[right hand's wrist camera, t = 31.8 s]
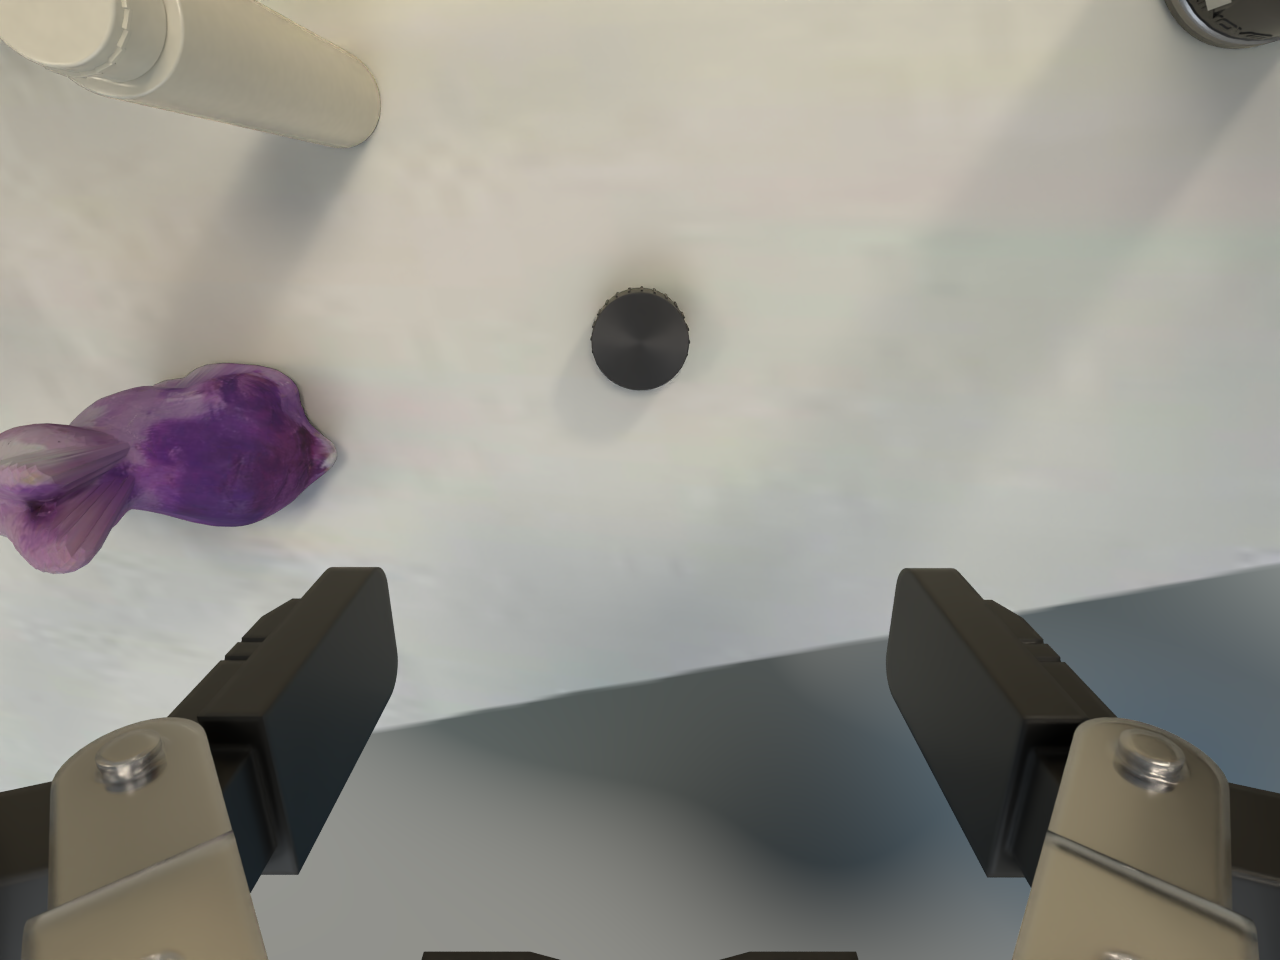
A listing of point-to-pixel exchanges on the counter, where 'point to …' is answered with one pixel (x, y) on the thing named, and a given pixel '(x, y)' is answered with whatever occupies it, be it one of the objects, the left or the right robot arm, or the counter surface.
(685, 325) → the lid
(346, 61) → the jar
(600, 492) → the counter surface
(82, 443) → the figurine
